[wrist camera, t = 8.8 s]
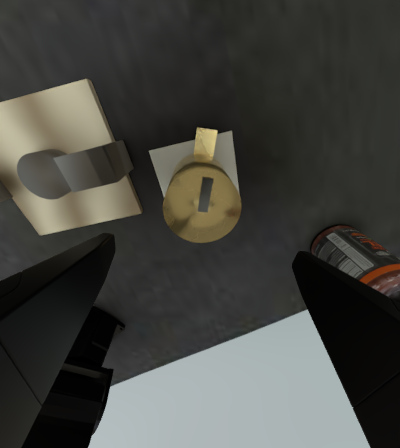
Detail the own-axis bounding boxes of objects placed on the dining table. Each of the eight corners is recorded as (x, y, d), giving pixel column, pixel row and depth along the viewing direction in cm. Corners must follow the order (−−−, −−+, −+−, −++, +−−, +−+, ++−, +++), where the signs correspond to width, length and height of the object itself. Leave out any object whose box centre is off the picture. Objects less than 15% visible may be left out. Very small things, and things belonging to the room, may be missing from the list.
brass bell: (216, 226, 22) (226, 269, 16) (168, 221, 22) (159, 263, 15) (236, 133, 18) (261, 141, 11) (175, 123, 17) (166, 126, 11)
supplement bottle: (366, 231, 24) (490, 311, 14) (334, 265, 27) (419, 352, 17) (329, 216, 23) (436, 292, 13) (299, 253, 25) (369, 340, 15)
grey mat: (172, 221, 22) (172, 222, 22) (149, 150, 18) (148, 151, 18) (240, 207, 22) (241, 208, 21) (231, 130, 18) (231, 130, 17)
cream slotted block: (37, 233, 22) (-5, 264, 17) (-50, 119, 16) (-147, 119, 12) (151, 208, 21) (140, 233, 16) (102, 77, 15) (63, 58, 11)
